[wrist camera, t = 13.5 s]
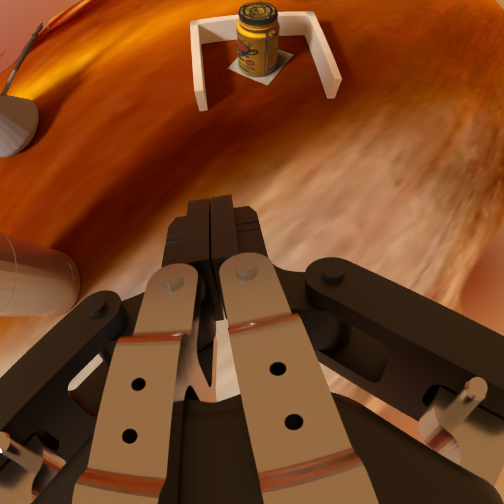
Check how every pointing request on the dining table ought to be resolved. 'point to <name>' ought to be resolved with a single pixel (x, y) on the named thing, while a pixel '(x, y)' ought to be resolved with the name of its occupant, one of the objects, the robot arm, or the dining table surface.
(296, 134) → the dining table surface
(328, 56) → the caddy
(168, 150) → the dining table surface
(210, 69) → the dining table surface
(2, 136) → the coffee pot
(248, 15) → the condiment
